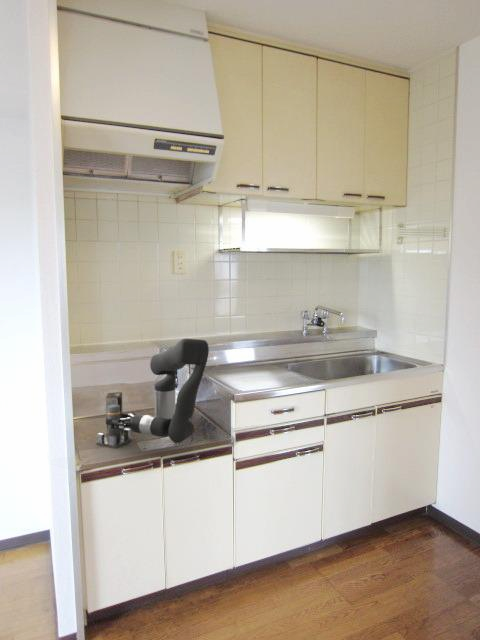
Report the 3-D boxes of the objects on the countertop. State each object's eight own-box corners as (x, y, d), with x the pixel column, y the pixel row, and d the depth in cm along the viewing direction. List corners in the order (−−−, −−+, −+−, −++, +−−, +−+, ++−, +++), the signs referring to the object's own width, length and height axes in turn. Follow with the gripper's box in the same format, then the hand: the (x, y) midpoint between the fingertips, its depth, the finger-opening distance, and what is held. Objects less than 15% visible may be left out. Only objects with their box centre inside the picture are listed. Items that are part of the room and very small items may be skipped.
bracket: (113, 436, 193) (113, 425, 192) (132, 439, 189) (132, 429, 188) (95, 444, 183) (95, 433, 183) (115, 448, 179) (115, 437, 179)
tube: (113, 436, 189) (113, 404, 188) (123, 438, 187) (122, 405, 186) (105, 440, 185) (105, 407, 183) (115, 442, 183) (114, 408, 181)
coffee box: (121, 433, 196) (120, 397, 194) (106, 434, 195) (105, 397, 193) (123, 426, 205) (122, 391, 203) (108, 427, 204) (107, 392, 202)
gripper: (156, 410, 184) (124, 405, 191) (134, 420, 171) (100, 414, 178) (156, 428, 185) (125, 422, 192) (134, 439, 172) (101, 432, 179)
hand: (113, 418), depth 185 cm, fingers open, 8 cm apart
